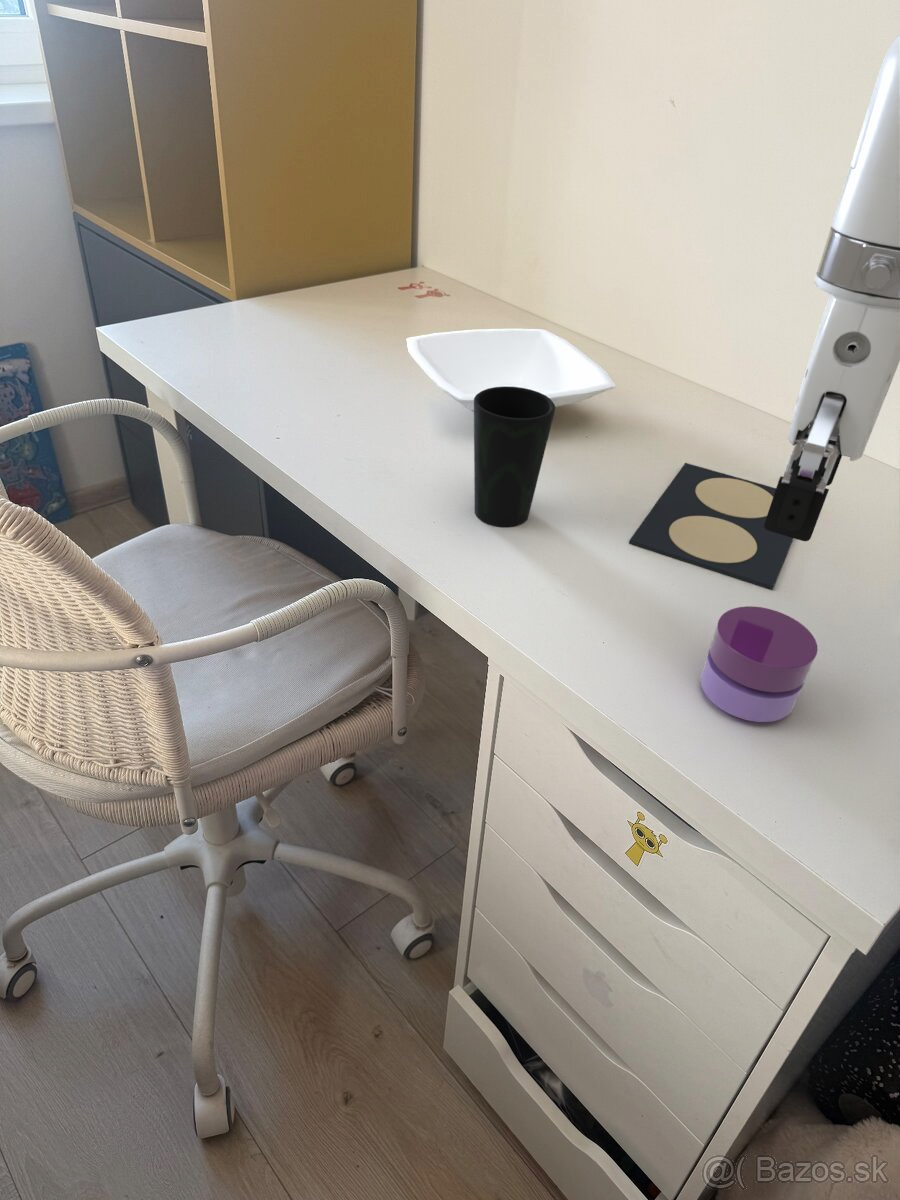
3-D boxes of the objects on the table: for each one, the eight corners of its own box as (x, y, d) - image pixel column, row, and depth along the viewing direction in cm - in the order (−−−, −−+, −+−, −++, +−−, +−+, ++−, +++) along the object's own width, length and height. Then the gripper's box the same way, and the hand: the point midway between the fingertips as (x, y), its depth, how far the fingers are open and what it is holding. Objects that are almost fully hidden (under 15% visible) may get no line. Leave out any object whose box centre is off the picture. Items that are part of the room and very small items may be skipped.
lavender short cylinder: (799, 685, 66) (812, 656, 64) (782, 741, 61) (795, 712, 59) (710, 653, 69) (720, 625, 67) (687, 704, 63) (696, 675, 62)
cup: (541, 535, 82) (558, 422, 74) (464, 530, 81) (474, 416, 74) (536, 496, 88) (551, 388, 81) (464, 491, 88) (473, 383, 80)
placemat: (808, 500, 91) (809, 496, 91) (772, 590, 77) (774, 585, 76) (684, 465, 96) (685, 461, 96) (628, 543, 82) (629, 539, 81)
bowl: (542, 364, 119) (547, 324, 116) (622, 433, 102) (631, 389, 98) (392, 375, 112) (393, 333, 109) (452, 452, 95) (455, 405, 91)
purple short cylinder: (812, 656, 64) (825, 626, 62) (795, 712, 59) (809, 681, 57) (720, 625, 67) (730, 595, 65) (696, 675, 62) (706, 644, 60)
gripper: (941, 314, 44) (833, 576, 54) (955, 251, 57) (865, 474, 67) (797, 286, 47) (720, 541, 57) (841, 232, 59) (771, 450, 70)
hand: (798, 505), depth 62 cm, fingers open, 9 cm apart
